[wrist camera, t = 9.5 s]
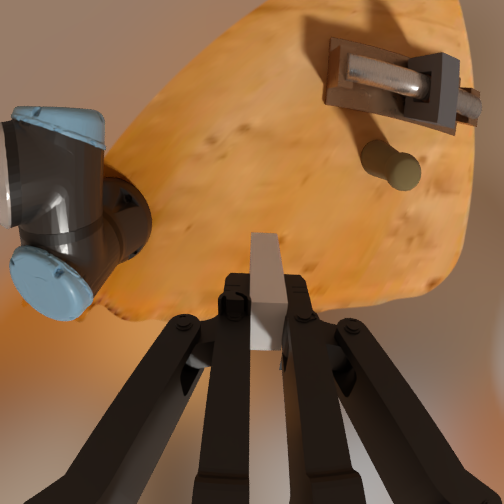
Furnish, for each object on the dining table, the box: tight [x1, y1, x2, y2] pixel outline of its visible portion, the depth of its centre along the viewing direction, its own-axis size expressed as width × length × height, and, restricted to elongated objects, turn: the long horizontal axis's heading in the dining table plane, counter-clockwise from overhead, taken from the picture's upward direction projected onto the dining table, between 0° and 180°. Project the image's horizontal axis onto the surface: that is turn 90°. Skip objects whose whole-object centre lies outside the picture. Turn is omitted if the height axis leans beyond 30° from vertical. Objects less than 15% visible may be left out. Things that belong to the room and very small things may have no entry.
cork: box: [361, 140, 421, 191], centre depth 38 cm, size 6×6×11 cm
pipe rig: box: [325, 37, 482, 136], centre depth 33 cm, size 24×11×9 cm, turn 86°
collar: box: [404, 52, 460, 129], centre depth 31 cm, size 3×10×10 cm, turn 176°
